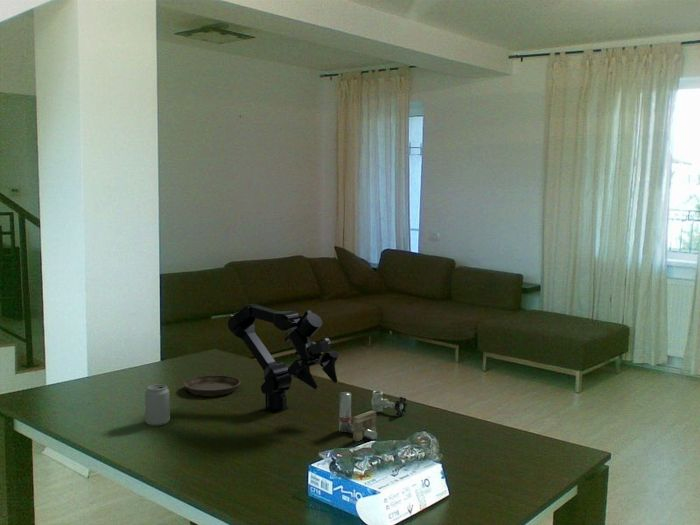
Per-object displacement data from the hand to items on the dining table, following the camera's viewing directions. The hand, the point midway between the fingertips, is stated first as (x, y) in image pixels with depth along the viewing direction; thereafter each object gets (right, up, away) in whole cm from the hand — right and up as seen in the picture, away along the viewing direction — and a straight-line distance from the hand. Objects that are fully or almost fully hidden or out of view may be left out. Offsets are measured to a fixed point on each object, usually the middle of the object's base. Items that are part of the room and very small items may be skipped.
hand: (326, 385), depth 214 cm
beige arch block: (+12, -14, -9) cm, 21 cm away
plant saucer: (-44, -9, +39) cm, 59 cm away
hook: (+10, -14, -7) cm, 18 cm away
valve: (+20, -12, +14) cm, 27 cm away
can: (-54, -13, +3) cm, 56 cm away
